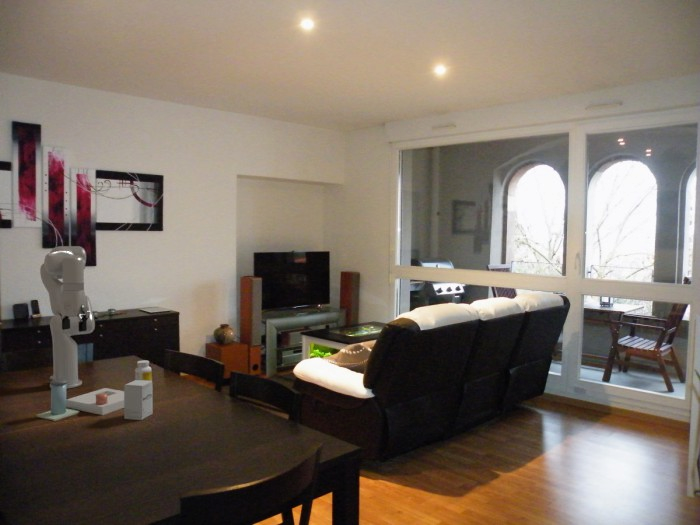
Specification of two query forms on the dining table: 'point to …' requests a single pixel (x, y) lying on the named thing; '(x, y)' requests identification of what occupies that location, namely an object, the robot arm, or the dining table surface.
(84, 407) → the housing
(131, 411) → the supplement box
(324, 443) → the dining table surface
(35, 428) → the dining table surface
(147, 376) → the supplement bottle
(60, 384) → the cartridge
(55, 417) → the mat
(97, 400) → the knob
